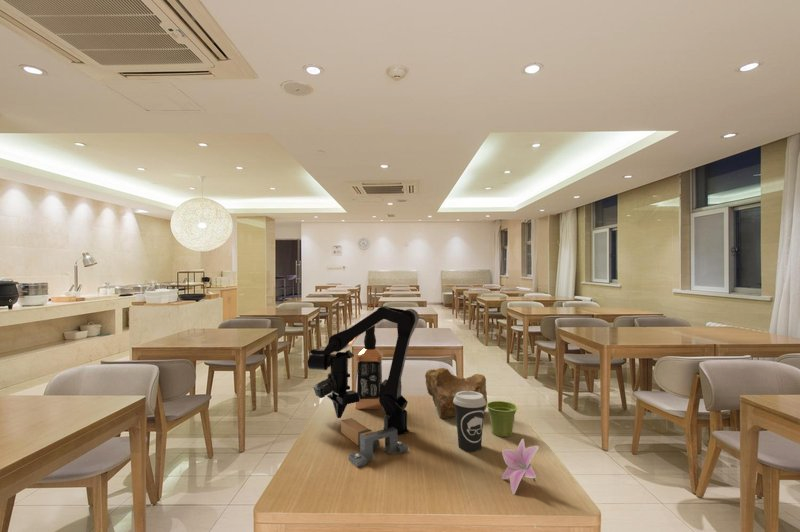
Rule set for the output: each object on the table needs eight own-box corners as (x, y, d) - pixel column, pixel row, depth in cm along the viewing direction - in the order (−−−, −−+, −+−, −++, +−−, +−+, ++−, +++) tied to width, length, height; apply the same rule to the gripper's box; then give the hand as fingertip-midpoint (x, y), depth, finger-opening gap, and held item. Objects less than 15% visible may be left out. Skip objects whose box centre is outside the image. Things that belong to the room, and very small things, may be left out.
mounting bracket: (348, 459, 102) (349, 436, 102) (398, 444, 111) (398, 423, 111) (357, 467, 98) (357, 443, 98) (408, 451, 107) (408, 429, 107)
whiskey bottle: (381, 409, 141) (381, 323, 142) (355, 409, 141) (355, 323, 142) (383, 400, 151) (383, 320, 152) (358, 400, 152) (359, 320, 153)
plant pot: (512, 442, 113) (512, 413, 113) (482, 435, 118) (482, 407, 118) (520, 431, 121) (520, 404, 121) (492, 425, 126) (492, 399, 126)
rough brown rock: (415, 420, 133) (415, 378, 132) (427, 401, 148) (428, 364, 147) (482, 431, 125) (483, 387, 124) (487, 410, 141) (488, 371, 140)
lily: (503, 470, 99) (489, 441, 97) (548, 458, 96) (533, 428, 94) (510, 511, 87) (493, 479, 85) (560, 499, 84) (544, 466, 83)
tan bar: (341, 432, 120) (341, 420, 120) (351, 429, 122) (352, 417, 122) (367, 452, 106) (367, 438, 106) (379, 449, 108) (379, 435, 108)
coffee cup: (489, 443, 112) (489, 392, 113) (482, 457, 104) (482, 402, 104) (458, 437, 116) (458, 388, 117) (449, 450, 108) (448, 397, 108)
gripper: (306, 368, 129) (305, 414, 129) (328, 380, 114) (327, 432, 114) (335, 364, 136) (335, 407, 135) (360, 375, 120) (360, 424, 120)
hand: (339, 417), depth 126 cm, fingers closed
